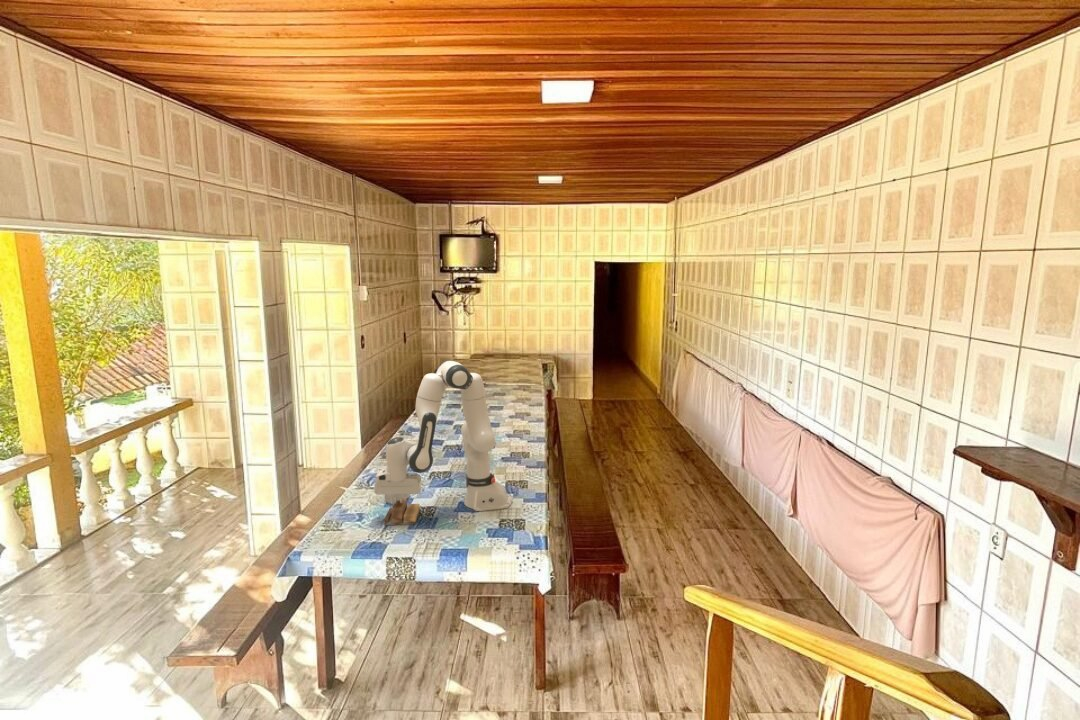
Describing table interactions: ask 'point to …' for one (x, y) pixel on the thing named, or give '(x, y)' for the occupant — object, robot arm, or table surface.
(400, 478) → the robot arm
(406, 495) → the light bulb box
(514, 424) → the table surface
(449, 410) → the table surface
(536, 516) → the table surface
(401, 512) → the walnut plank
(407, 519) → the floor section
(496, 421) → the table surface
